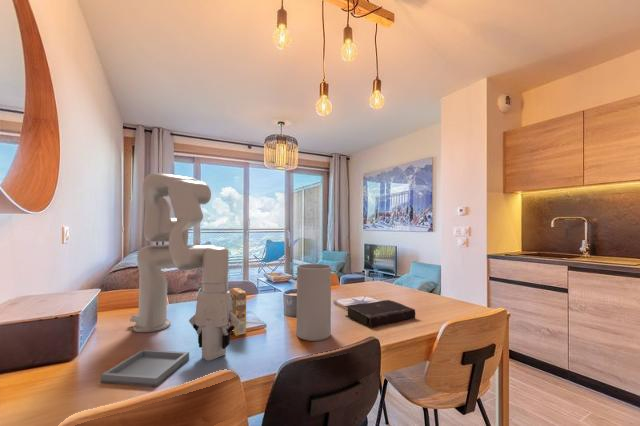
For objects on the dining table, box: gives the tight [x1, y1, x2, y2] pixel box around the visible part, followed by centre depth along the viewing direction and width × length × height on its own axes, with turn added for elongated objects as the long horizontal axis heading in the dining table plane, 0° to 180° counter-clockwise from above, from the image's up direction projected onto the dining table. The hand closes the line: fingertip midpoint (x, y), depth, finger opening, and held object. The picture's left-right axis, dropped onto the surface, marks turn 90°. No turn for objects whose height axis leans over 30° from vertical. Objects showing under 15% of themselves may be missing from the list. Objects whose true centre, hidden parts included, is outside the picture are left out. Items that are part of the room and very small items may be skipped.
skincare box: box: [201, 320, 227, 362], centre depth 90 cm, size 6×4×12 cm
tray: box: [100, 349, 190, 387], centre depth 82 cm, size 15×15×2 cm
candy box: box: [228, 287, 247, 336], centre depth 111 cm, size 9×4×15 cm, turn 33°
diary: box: [344, 299, 416, 329], centre depth 129 cm, size 19×25×5 cm
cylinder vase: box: [295, 263, 332, 342], centre depth 108 cm, size 12×12×25 cm
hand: (213, 346), depth 90 cm, fingers closed on skincare box, 6 cm apart
